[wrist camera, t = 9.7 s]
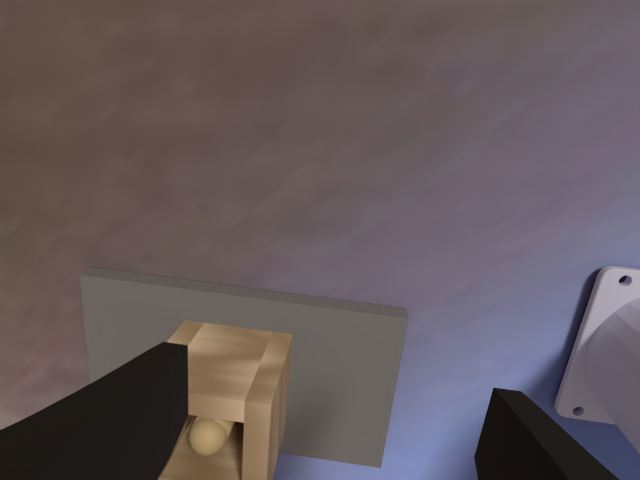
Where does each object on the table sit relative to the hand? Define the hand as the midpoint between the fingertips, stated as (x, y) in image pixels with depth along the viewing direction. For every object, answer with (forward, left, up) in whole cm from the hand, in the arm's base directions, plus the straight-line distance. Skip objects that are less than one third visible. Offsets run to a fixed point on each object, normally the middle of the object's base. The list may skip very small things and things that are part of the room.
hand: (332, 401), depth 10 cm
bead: (+5, +7, -9) cm, 13 cm away
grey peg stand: (+5, +7, -10) cm, 13 cm away
